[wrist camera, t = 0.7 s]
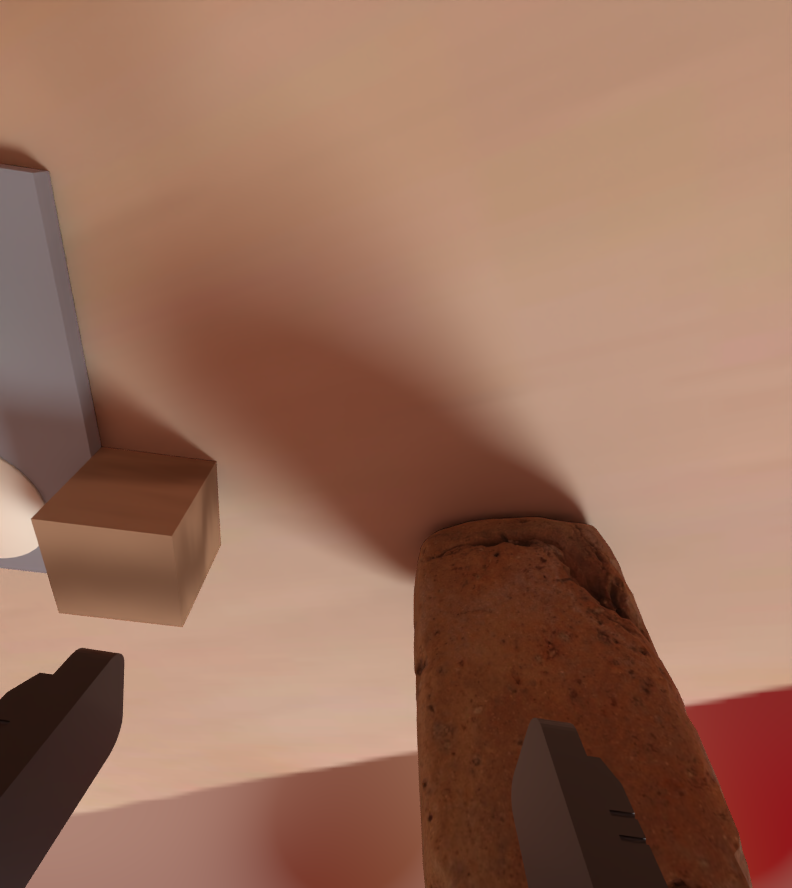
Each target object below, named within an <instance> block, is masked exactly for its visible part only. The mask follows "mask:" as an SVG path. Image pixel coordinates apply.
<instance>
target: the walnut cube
mask: <svg viewBox="0 0 792 888" xmlns="http://www.w3.org/2000/svg"><path fill="white" fill-rule="evenodd" d="M31 521H32V525H33V528H34V531H35V535H36V538H37V541H38V545H39V548H40V551H41V555H42V558H43V561H44V565H45V568H46V571H47V575H48V578H49V581H50V585H51V588H52V591H53V595H54V598H55V601H56V605H57V608H58V611H59V613H63V614H72V615H81V616H90V617H99V618H107V619H116V620H125V621H134V622H142V623H151V624H160V625H169V626H177V627H183V625H184V623H185V621H186V619H187V617H188V615H189V612H190V610H191V608H192V606H193V604H194V602H195V600H196V597H197V595H198V593H199V591H200V589H201V587H202V584H203V582H204V580H205V578H206V576H207V574H208V572H209V569H210V567H211V565H212V563H213V561H214V559H215V557H216V554H217V552H218V550H219V548H220V546H221V538H220V519H219V501H218V482H217V464H216V461H208V460H201V459H193V458H185V457H178V456H170V455H162V454H155V453H147V452H139V451H132V450H124V449H116V448H108V447H101V448H100V449H99V450H98V451H97V452H96V453H95V454H94V455H93V456H92V457H91V458H90V459H89V460H88V461H87V462H86V463H85V464H84V465H83V466H82V467H81V468H80V469H79V470H78V472H77V473H76V474H75V475H74V476H73V477H72V478H71V479H70V480H69V481H68V482H67V483H66V484H65V485H64V486H63V487H62V488H61V489H60V490H59V491H58V492H57V493H56V494H55V495H54V496H53V497H52V498H51V499H50V500H49V501H48V502H47V503H46V504H45V505H44V506H43V507H42V508H41V509H40V510H39V511H38V512H37V513H36V514H35V515H34V516H33V517H32V518H31Z"/></svg>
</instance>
